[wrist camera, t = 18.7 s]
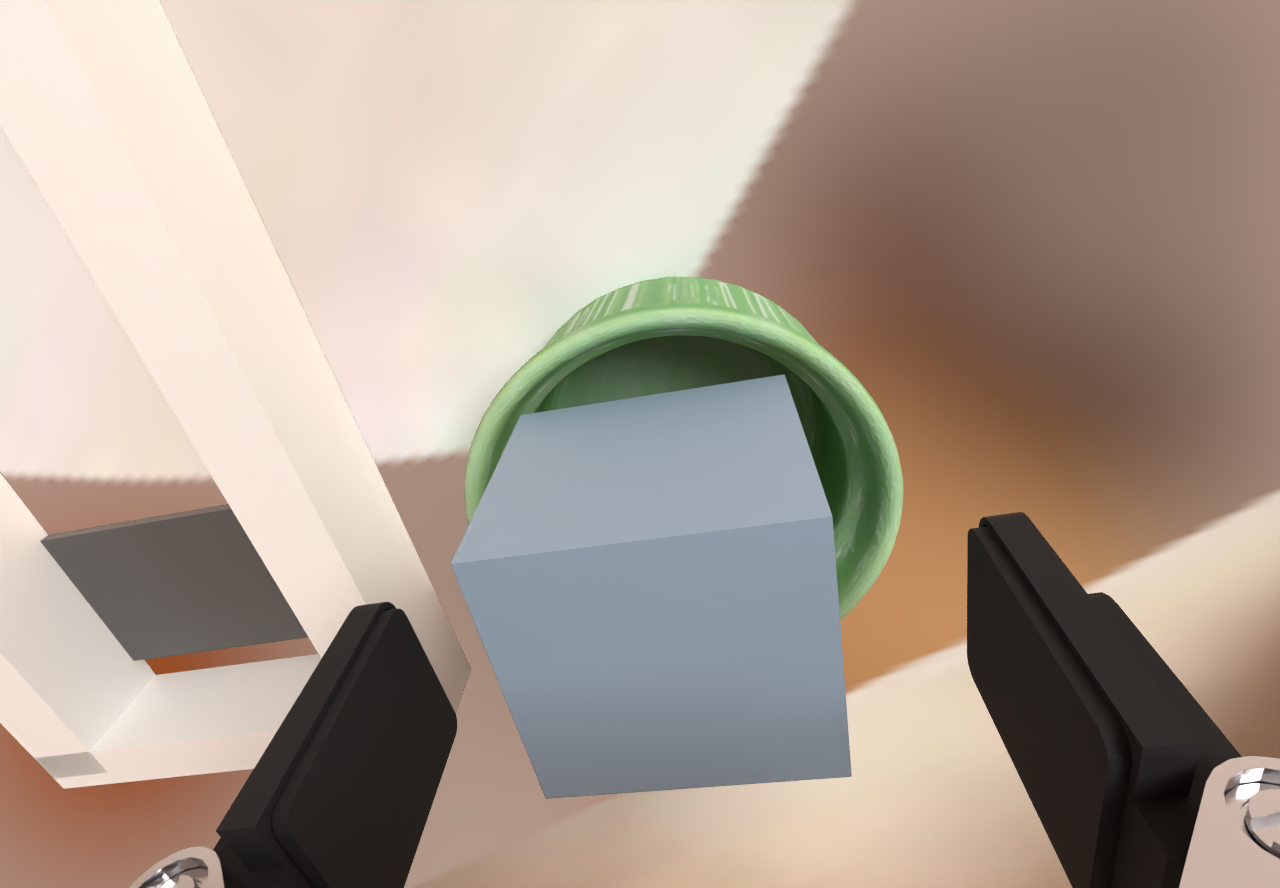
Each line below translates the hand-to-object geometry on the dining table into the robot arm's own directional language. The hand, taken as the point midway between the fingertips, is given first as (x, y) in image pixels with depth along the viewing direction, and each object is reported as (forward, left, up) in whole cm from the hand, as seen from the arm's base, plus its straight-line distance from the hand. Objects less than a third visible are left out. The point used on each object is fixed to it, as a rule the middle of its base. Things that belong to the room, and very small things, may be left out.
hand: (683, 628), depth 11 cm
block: (0, 0, -3) cm, 3 cm away
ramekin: (0, 0, -8) cm, 8 cm away
